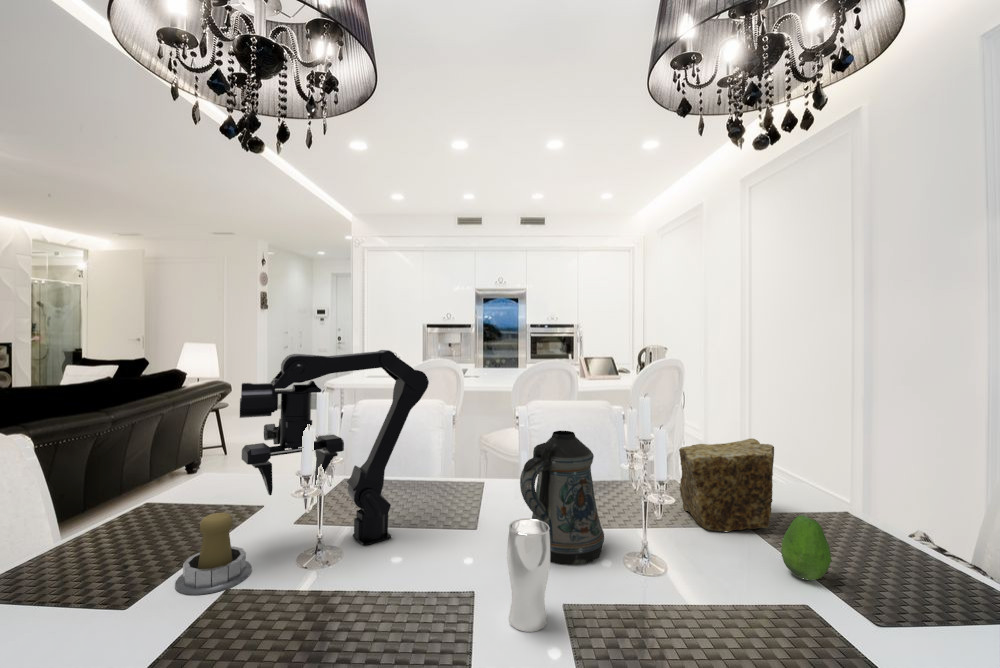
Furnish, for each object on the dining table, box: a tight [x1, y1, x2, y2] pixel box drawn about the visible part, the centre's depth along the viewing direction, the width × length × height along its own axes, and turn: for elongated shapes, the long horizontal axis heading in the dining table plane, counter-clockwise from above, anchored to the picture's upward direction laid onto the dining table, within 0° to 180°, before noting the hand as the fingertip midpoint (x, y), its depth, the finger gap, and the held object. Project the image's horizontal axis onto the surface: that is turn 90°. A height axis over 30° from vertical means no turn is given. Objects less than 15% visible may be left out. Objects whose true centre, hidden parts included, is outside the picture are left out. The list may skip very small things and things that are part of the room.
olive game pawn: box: [197, 512, 234, 569], centre depth 85 cm, size 6×6×11 cm
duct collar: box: [174, 545, 253, 596], centre depth 85 cm, size 12×12×4 cm
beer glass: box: [506, 518, 551, 633], centre depth 74 cm, size 7×7×15 cm
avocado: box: [780, 514, 832, 581], centre depth 89 cm, size 8×8×12 cm
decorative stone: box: [678, 438, 775, 532], centre depth 117 cm, size 21×20×20 cm
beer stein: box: [519, 430, 605, 566], centre depth 99 cm, size 16×19×25 cm
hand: (294, 490), depth 95 cm, fingers open, 9 cm apart
